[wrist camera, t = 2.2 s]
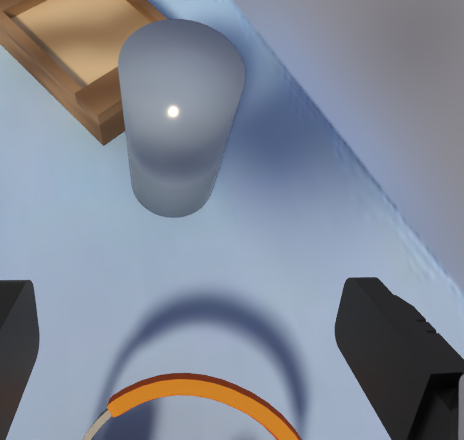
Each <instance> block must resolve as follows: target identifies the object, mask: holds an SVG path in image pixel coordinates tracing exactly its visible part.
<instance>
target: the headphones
mask: <svg viewBox="0 0 464 440" xmlns="http://www.w3.org/2000/svg"><path fill="white" fill-rule="evenodd" d="M174 395H189V396H198V397H204V398H209V399H213V400H216V401H219V402H222V403H225V404H227V405H229V406H231V407H234V408H236V409H238V410H240V411H242V412H244V413H246V414H248V415H249V416H251V417H252V418H253V419H255V420H256V421H258V422H259V423H260V424H262V425H263V426H264V427H265V428H266V429H267V430H268V431H269V432H270V433H271V434H272V435H273V436H274V437H275V438H276V440H302V439H301V438H300V436H299V435H298V433H297V432H296V430H295V429H294V428H293V426H292V425H291V424H290V423H289V422H288V421H287V420H286V419H285V417H284V416H283V415H282V414H281V413H279V412H278V411H277V410H276V409H275V408H274V407H272V406H271V405H270V404H269V403H268V402H266V401H265V400H263V399H261V398H260V397H258V396H257V395H255V394H254V393H252V392H250V391H248V390H246V389H244V388H241V387H239V386H237V385H235V384H233V383H230V382H227V381H225V380H222V379H219V378H215V377H211V376H207V375H201V374H191V373H172V374H165V375H159V376H155V377H152V378H148V379H145V380H141V381H139V382H137V383H135V384H133V385H131V386H128V387H126V388H124V389H123V390H121V391H119V392H118V393H116V394H114V395H113V396H112V397H111V398H110V399H109V402H108V405H107V409H106V410H105V411H104V412H103V413H102V414H101V415H100V416H99V417H98V419H97V420H96V421H95V423H94V424H93V425H92V426H91V428H90V429H89V430H88V432H87V433H86V435H85V436H84V438H83V440H92V439H93V437H94V436H95V434H96V432H97V431H98V430H99V429H100V427H101V426H102V425H103V424H104V423H105V422H106V421H107V420H108V419H109V418H110V417H111V416H112V417H117V416H119V415H121V414H123V413H125V412H127V411H128V410H130V409H131V408H133V407H135V406H137V405H139V404H142V403H144V402H146V401H150V400H153V399H156V398H160V397H166V396H174Z"/></svg>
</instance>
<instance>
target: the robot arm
mask: <svg viewBox="0 0 464 440" xmlns="http://www.w3.org/2000/svg"><path fill="white" fill-rule="evenodd" d="M335 338H336V342H337V345H338V347H339V349H340V351H341V353H342V355H343V356H344V358H345V360H346V361H347V363H348V365H349V367H350V368H351V370H352V372H353V374H354V375H355V377H356V379H357V381H358V382H359V384H360V386H361V388H362V389H363V391H364V393H365V394H366V396H367V398H368V400H369V401H370V403H371V405H372V407H373V408H374V410H375V412H376V414H377V415H378V417H379V419H380V420H381V422H382V424H383V426H384V427H385V429H386V431H387V433H388V434H389V436H390V438H391V440H464V359H463V358H462V357H461V356H460V355H459V354H458V353H457V352H456V351H455V350H454V349H453V348H452V347H451V346H450V345H449V344H448V342H447V341H446V340H445V339H444V338H443V337H442V336H441V335H440V334H439V333H436V330H435V329H434V328H433V327H432V326H431V324H430V323H429V322H426V319H425V318H424V317H423V316H422V315H421V314H420V313H419V312H418V311H417V310H416V309H415V307H414V306H412V305H411V304H409V303H407V302H406V301H404V300H403V299H401V298H400V297H398V296H396V295H393V294H392V293H391V292H390V291H389V290H388V288H387V287H386V286H385V285H384V284H383V283H382V282H381V281H380V280H379V279H378V278H375V277H361V278H348V279H347V280H346V282H345V284H344V288H343V292H342V296H341V301H340V305H339V309H338V314H337V318H336V322H335ZM38 349H39V326H38V318H37V310H36V302H35V294H34V287H33V283H32V282H31V281H30V280H0V440H6V437H7V434H8V432H9V429H10V426H11V424H12V421H13V419H14V416H15V413H16V411H17V408H18V406H19V403H20V400H21V398H22V395H23V393H24V390H25V387H26V385H27V382H28V380H29V377H30V374H31V372H32V369H33V367H34V364H35V361H36V358H37V355H38Z"/></svg>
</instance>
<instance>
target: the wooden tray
mask: <svg viewBox="0 0 464 440" xmlns="http://www.w3.org/2000/svg"><path fill="white" fill-rule="evenodd" d="M166 19H167V18H166V17H165V16H164V15H162V14H161V13H160V12H159V11H158V10H157V9H156V8H155V7H153V6H152V5H151V4H150V3H149V2H148V1H147V0H0V44H1V45H2V46H3V47H4V48H5V49H6V50H7V51H8V52H9V53H10V54H11V55H12V56H13V57H14V58H15V59H16V60H17V61H18V62H19V63H20V64H21V65H22V66H23V67H24V68H25V69H26V70H27V71H28V72H29V73H30V74H31V75H32V76H33V77H34V78H35V79H36V80H37V81H38V82H39V83H40V84H41V85H42V86H43V87H45V88H46V89H47V90H48V91H49V92H50V93H51V94H52V95H53V96H54V97H55V98H56V99H57V100H58V101H59V102H60V103H61V104H62V105H63V106H64V107H65V108H66V109H67V110H68V111H69V112H70V113H71V114H72V115H73V116H74V117H75V118H76V119H77V120H78V121H79V122H80V123H81V124H82V125H83V126H84V127H85V128H86V129H87V130H88V131H89V132H90V133H91V134H92V135H93V136H94V137H95V138H96V139H97V140H98V141H99V142H100V143H101V144H102V145H103V146H104V145H106V144H107V143H108V142H110V141H111V140H113V139H114V138H116V137H117V136H118V135H120V134H121V133H123V132H124V131H125V124H124V116H123V107H122V98H121V89H120V81H119V72H118V58H119V54H120V51H121V48H122V46H123V44H124V43H125V41H126V40H127V39H128V37H129V36H130V35H131V34H132V33H134V32H135V31H136V30H138V29H139V28H141V27H143V26H145V25H147V24H149V23H152V22H156V21H160V20H166Z"/></svg>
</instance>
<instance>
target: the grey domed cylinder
mask: <svg viewBox="0 0 464 440" xmlns="http://www.w3.org/2000/svg"><path fill="white" fill-rule="evenodd" d="M118 72H119V81H120V89H121V98H122V107H123V116H124V124H125V133H126V142H127V150H128V159H129V168H130V177H131V185H132V189H133V192H134V194H135V196H136V198H137V199H138V201H139V202H140V203H141V204H142V205H143V206H144V207H145V208H146V209H148V210H149V211H151V212H153V213H155V214H157V215H160V216H164V217H171V218H176V217H184V216H187V215H190V214H192V213H194V212H196V211H198V210H199V209H200V208H202V207H203V206H204V205H205V203H206V202H207V201H208V199H209V197H210V195H211V193H212V190H213V186H214V183H215V180H216V177H217V173H218V170H219V167H220V163H221V160H222V157H223V154H224V150H225V147H226V144H227V141H228V137H229V134H230V131H231V128H232V124H233V121H234V118H235V115H236V111H237V108H238V105H239V102H240V98H241V95H242V92H243V89H244V85H245V79H246V72H245V66H244V63H243V60H242V58H241V56H240V54H239V52H238V50H237V49H236V47H235V46H234V45H233V44H232V43H231V42H230V41H229V40H228V39H227V38H226V37H225V36H224V35H222V34H221V33H220V32H218V31H216V30H215V29H213V28H211V27H209V26H206V25H204V24H201V23H198V22H194V21H190V20H183V19H166V20H160V21H156V22H152V23H149V24H147V25H145V26H143V27H141V28H139V29H138V30H136V31H135V32H134V33H132V34H131V35H130V36H129V37H128V39H127V40H126V41H125V43H124V44H123V46H122V48H121V51H120V54H119V58H118Z"/></svg>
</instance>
